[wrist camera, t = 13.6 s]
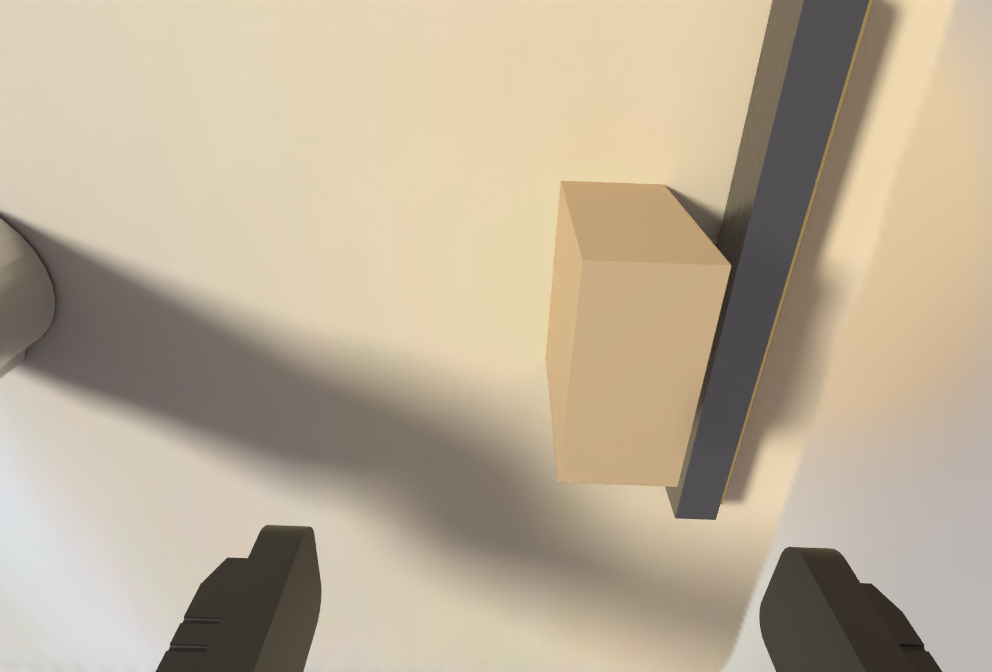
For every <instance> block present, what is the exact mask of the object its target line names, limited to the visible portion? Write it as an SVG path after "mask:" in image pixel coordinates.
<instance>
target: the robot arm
mask: <svg viewBox="0 0 992 672" xmlns="http://www.w3.org/2000/svg"><path fill="white" fill-rule="evenodd" d="M54 312H55V296H54V291H53V285H52V282H51V280H50V278H49V275H48V273H47V270H46V268H45V266H44V265H43V263H42V262H41V260H40V259H39V257H38V255H37V254H36V252H35V251H34V250H33V248H32V247H31V246H30V245H29V244H28V243H27V242H26V241H25V239H24V238H23V237H22V236H21V235H20V234H19V233H18V232H17V231H15V230H14V229H13V228H12V227H11V226H9V225H8V224H7V223H6V222H5V221H4V220H2V219H1V218H0V378H2V377H3V376H4V375H6V374H7V373H8V372H10V371H11V370H12V369H14V368H15V367H16V366H18V365H19V364H20V363H22V362H23V361H24V360H25V350H26V348H27V347H28V346H30V345H31V344H33V343H34V342H35V341H37V340H38V339H40V338H41V337H42V336H43V335H44V333H45V332H46V331H47V330H48V328H49V327H50V325H51V322H52V319H53V317H54ZM320 604H321V580H320V573H319V566H318V558H317V551H316V544H315V536H314V531H313V529H312V527H305V526H279V525H266V526H264V527H263V528H262V530H261V531H260V533H259V535H258V537H257V540H256V542H255V544H254V546H253V549H252V551H251V553H250V555H249V557H248V558H227V559H226V560H225V561H224V562H223V563H222V564H221V565H220V566H219V567H218V568H217V569H216V570H214V571H213V572H212V573H211V574H210V575H209V576H208V577H207V578H206V579H205V580H204V581H203V582H202V583H201V584H200V586H199V588H198V590H197V592H196V594H195V596H194V598H193V600H192V602H191V604H190V606H189V608H188V610H187V612H186V614H185V616H184V621H183V623H180V625H179V627H178V629H177V631H176V633H175V635H174V637H173V639H172V641H171V643H170V649H169V651H166V653H165V655H164V657H163V659H162V661H161V662H160V664H159V666H158V668H157V670H156V672H303V670H304V667H305V664H306V660H307V657H308V653H309V650H310V646H311V643H312V640H313V636H314V633H315V629H316V626H317V622H318V617H319V612H320ZM760 628H761V633H762V637H763V640H764V643H765V646H766V648H767V650H768V652H769V655H770V658H771V660H772V662H773V665H774V667H775V670H776V672H942V671H941V669H940V668H939V666H938V665H937V663H936V662H935V660H934V659H933V657H932V656H931V654H930V653H929V652H926V651H925V649H924V644H923V642H922V641H921V639H920V638H919V636H918V635H917V633H916V632H915V630H914V629H913V627H912V626H911V624H910V623H909V621H908V620H907V618H906V617H905V615H904V614H903V612H902V611H901V610H900V609H898V608H897V607H896V606H895V605H894V604H893V603H892V602H891V601H890V600H889V599H888V598H886V597H885V596H884V595H883V594H882V593H881V592H880V591H879V590H878V589H877V588H876V587H874V586H873V585H872V584H865V583H860V582H859V580H858V579H857V577H856V575H855V574H854V572H853V571H852V569H851V567H850V566H849V564H848V563H847V561H846V560H845V558H844V557H843V556H842V555H841V553H839V552H838V551H837V550H835V549H827V548H801V547H800V548H799V547H788V548H786V549H784V551H783V552H782V554H781V556H780V559H779V561H778V564H777V566H776V569H775V571H774V573H773V576H772V578H771V580H770V583H769V585H768V588H767V590H766V592H765V595H764V597H763V600H762V602H761V606H760Z"/></svg>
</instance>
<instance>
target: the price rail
mask: <svg viewBox="0 0 992 672" xmlns="http://www.w3.org/2000/svg"><path fill="white" fill-rule="evenodd" d="M872 3H873V0H773V2H772V6H771V11H770V15H769V20H768V24H767V29H766V33H765V37H764V42H763V46H762V51H761V55H760V60H759V64H758V68H757V73H756V77H755V82H754V86H753V91H752V95H751V99H750V104H749V108H748V113H747V117H746V122H745V126H744V130H743V135H742V139H741V144H740V148H739V152H738V157H737V161H736V166H735V170H734V175H733V179H732V183H731V188H730V192H729V197H728V201H727V206H726V210H725V214H724V219H723V223H722V228H721V232H720V237H719V241H718V245H717V249H718V250H719V251H720V252H721V254H722V255H723V256H724V257H725V258H726V260H727V261H728V262H729V263H730V264H731V269H730V273H729V278H728V282H727V286H726V290H725V294H724V298H723V302H722V306H721V310H720V314H719V318H718V323H717V327H716V331H715V335H714V339H713V343H712V347H711V351H710V355H709V359H708V363H707V367H706V372H705V376H704V380H703V384H702V388H701V392H700V396H699V400H698V404H697V408H696V412H695V417H694V421H693V425H692V429H691V433H690V437H689V441H688V445H687V449H686V453H685V457H684V461H683V466H682V470H681V474H680V478H679V482H678V486H677V487H670V486H665V488H666V491H667V494H668V497H669V500H670V503H671V506H672V510H673V513H674V516H675V518H682V519H709V520H716V517H717V513H718V510H719V507H720V504H723V501H724V498H725V495H726V491H727V488H728V485H729V481H730V478H731V475H732V471H733V468H734V465H735V461H736V458H737V454H738V451H739V448H740V444H741V441H742V438H743V434H744V431H745V428H746V424H747V421H748V418H749V414H750V411H751V408H752V404H753V401H754V398H755V394H756V391H757V388H758V384H759V381H760V377H761V374H762V371H763V367H764V364H765V361H766V357H767V354H768V351H769V347H770V344H771V341H772V337H773V334H774V331H775V327H776V324H777V321H778V317H779V314H780V311H781V307H782V304H783V301H784V297H785V294H786V290H787V287H788V284H789V280H790V277H791V274H792V270H793V267H794V264H795V260H796V257H797V254H798V250H799V247H800V244H801V240H802V237H803V234H804V230H805V227H806V224H807V220H808V217H809V214H810V210H811V207H812V203H813V200H814V197H815V193H816V190H817V187H818V183H819V180H820V177H821V173H822V170H823V167H824V163H825V160H826V157H827V153H828V150H829V147H830V143H831V140H832V137H833V133H834V130H835V126H836V123H837V120H838V116H839V113H840V110H841V106H842V103H843V100H844V96H845V93H846V90H847V86H848V83H849V80H850V76H851V73H852V70H853V66H854V63H855V60H856V56H857V53H858V50H859V46H860V43H861V39H862V36H863V33H864V29H865V26H866V23H867V19H868V16H869V13H870V9H871V6H872Z"/></svg>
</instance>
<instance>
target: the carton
mask: <svg viewBox="0 0 992 672" xmlns="http://www.w3.org/2000/svg"><path fill="white" fill-rule="evenodd" d="M730 269H731V264H730V263H729V262H728V261H727V260H726V258H725V257H724V256H723V255H722V254H721V252H720V251H719V250H718V249H717V248H716V246H715V245H714V244H713V243H712V241H711V240H710V239H709V238H708V237H707V235H706V234H705V233H704V232H703V231H702V229H701V228H700V227H699V226H698V225H697V223H696V222H695V221H694V220H693V219H692V217H691V216H690V215H689V214H688V213H687V211H686V210H685V209H684V208H683V206H682V205H681V204H680V203H679V202H678V200H677V199H676V198H675V197H674V196H673V194H672V193H671V192H670V191H669V190H668V188H667V187H666V186H665V185H659V184H632V183H604V182H576V181H561V184H560V195H559V207H558V219H557V231H556V243H555V254H554V266H553V278H552V290H551V302H550V313H549V325H548V337H547V349H546V365H547V375H548V385H549V395H550V405H551V416H552V426H553V436H554V446H555V456H556V466H557V476H558V482H565V483H591V484H617V485H644V486H670V487H677V486H678V482H679V478H680V474H681V470H682V466H683V461H684V457H685V453H686V449H687V445H688V441H689V437H690V433H691V429H692V425H693V421H694V417H695V412H696V408H697V404H698V400H699V396H700V392H701V388H702V384H703V380H704V376H705V372H706V367H707V363H708V359H709V355H710V351H711V347H712V343H713V339H714V335H715V331H716V327H717V323H718V318H719V314H720V310H721V306H722V302H723V298H724V294H725V290H726V286H727V282H728V278H729V273H730Z"/></svg>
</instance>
